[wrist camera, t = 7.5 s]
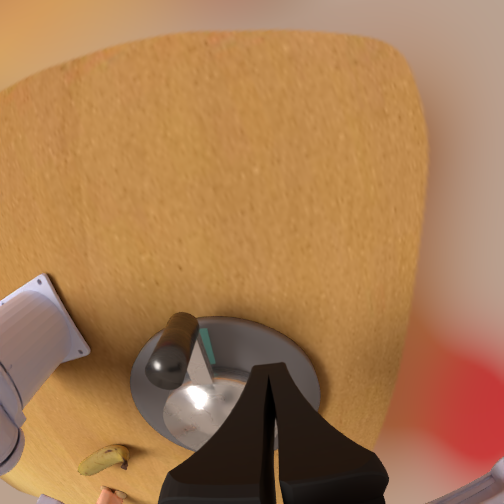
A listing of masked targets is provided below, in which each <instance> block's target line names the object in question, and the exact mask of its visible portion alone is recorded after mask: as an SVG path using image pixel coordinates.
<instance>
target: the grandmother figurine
mask: <svg viewBox="0 0 504 504" xmlns="http://www.w3.org/2000/svg"><path fill="white" fill-rule="evenodd" d="M101 490H102V492H101V494H100V496H99V498H98V501H97V503H96V504H122V503H123V499H125V498H126V497H127V495H126V494H125V493H123V492H121V491H115V493H114V494H113V492H112V490H111V489H109V488H107V487H104V486H101Z"/></svg>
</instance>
